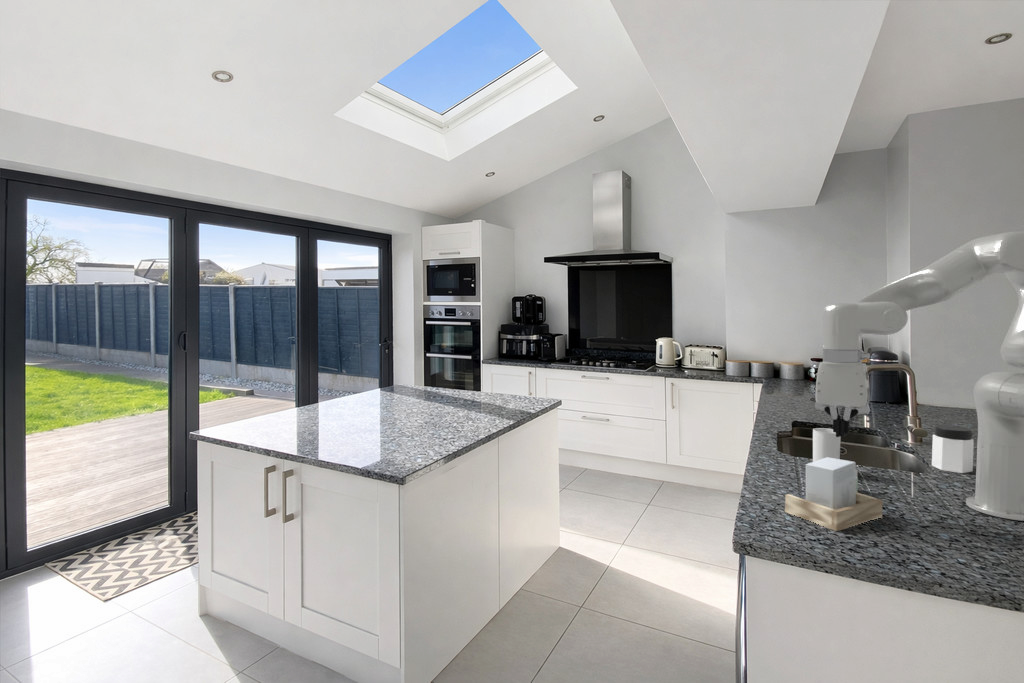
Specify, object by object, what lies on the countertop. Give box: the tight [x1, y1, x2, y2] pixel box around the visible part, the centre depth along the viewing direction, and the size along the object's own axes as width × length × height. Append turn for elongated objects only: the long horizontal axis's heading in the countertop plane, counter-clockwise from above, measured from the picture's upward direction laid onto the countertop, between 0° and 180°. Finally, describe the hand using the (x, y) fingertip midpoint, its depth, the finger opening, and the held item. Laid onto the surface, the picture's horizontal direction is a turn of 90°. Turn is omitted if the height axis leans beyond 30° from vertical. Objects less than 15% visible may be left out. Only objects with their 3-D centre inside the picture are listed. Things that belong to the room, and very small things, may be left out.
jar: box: [931, 424, 975, 474], centre depth 146 cm, size 9×8×12 cm
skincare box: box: [805, 457, 857, 510], centre depth 113 cm, size 10×6×10 cm, turn 124°
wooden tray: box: [784, 491, 884, 532], centre depth 112 cm, size 12×16×4 cm
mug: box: [812, 427, 842, 462], centre depth 144 cm, size 10×7×12 cm, turn 120°
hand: (841, 436), depth 117 cm, fingers closed
